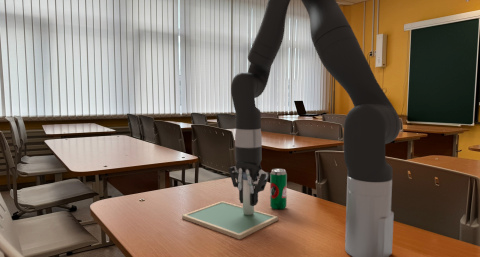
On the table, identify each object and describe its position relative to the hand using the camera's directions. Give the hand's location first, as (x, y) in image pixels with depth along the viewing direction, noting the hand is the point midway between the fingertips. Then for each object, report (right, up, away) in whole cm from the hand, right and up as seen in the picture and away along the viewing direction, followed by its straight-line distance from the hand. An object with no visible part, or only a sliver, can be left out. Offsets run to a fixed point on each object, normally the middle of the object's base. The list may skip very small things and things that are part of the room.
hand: (248, 203), depth 98 cm
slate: (-5, -4, -1) cm, 7 cm away
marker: (0, -3, 0) cm, 3 cm away
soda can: (+10, -3, +8) cm, 13 cm away
